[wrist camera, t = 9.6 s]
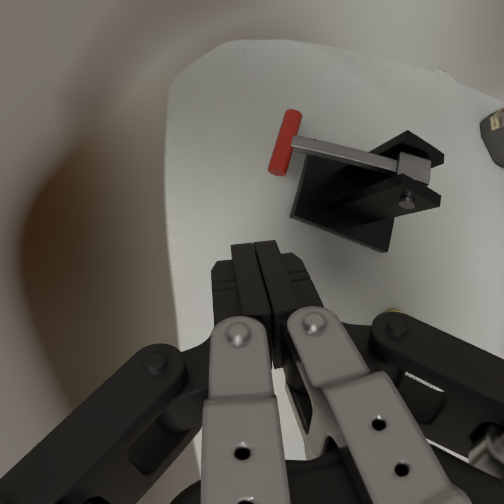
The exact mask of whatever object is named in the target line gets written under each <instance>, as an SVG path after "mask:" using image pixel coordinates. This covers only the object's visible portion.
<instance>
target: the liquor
mask: <svg viewBox="0 0 504 504" xmlns="http://www.w3.org/2000/svg"><path fill="white" fill-rule="evenodd" d="M480 130H481V137H482V139H483V141H484V143H485V145H486V147H487V149H488V151H489V153H490V155H491V157H492V160H493V161H494V162H495V163H496V164H498V165H499V166H500V167H503V168H504V108H503V109H501V110H498V111H496V112H494V113H492V114H490V115H489V116H488V117H487V118H486V119H484V120H483V121H482V122H481V124H480Z"/></svg>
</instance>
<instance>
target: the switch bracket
mask: <svg viewBox="0 0 504 504" xmlns="http://www.w3.org/2000/svg"><path fill="white" fill-rule="evenodd" d="M314 140H316V139H314ZM400 152H404V153H408V154H411V155H414V156H417V157H421V158H424V159H427V160H430V161H431V168H433V167H436V166H438V165H441V164H443V163H444V154H443V153H442V152H440V151H439V150H438V149H436V148H435V147H433V146H432V145H430V144H429V143H427V142H426V141H424V140H423V139H421V138H419V137H418V136H416V135H415V134H413V133H412V132H410V131H408V130H407V131H405V132H403V133H402V134H400V135H398V136H396V137H394V138H393V139H391V140H389V141H387V142H386V143H384V144H382V145H380V146H379V147H377V148H375V149H373V150H372V151H370V152H369V153H372V154H376V155H380V156H383V157H387V158H390V159H394V160H397V158H398V156H399V154H400ZM440 201H441V195H439V194H438V193H436V192H434V191H433V190H431V189H429V188H428V187H426V186H424V185H423V184H421V183H419V182H418V181H416V180H414V179H413V178H411V177H409V176H407V175H406V174H404V173H401V174H399V175H396V176H394V177H393V176H391V175H388V174H384V173H381V172H377V171H373V170H370V169H366V168H362V167H358V166H355V165H351V164H347V163H343V162H339V161H334V160H330V159H326V158H322V157H317V156H313V155H308V154H307V156H306V159H305V163H304V167H303V170H302V174H301V178H300V182H299V185H298V189H297V193H296V196H295V200H294V203H293V207H292V211H291V214H290V218H293V219H296V220H299V221H301V222H304V223H307V224H309V225H312V226H315V227H317V228H320V229H322V230H325V231H328V232H330V233H333V234H335V235H338V236H341V237H343V238H346V239H348V240H351V241H353V242H356V243H358V244H361V245H364V246H366V247H369V248H371V249H373V250H376V251H378V252H381V253H385V252H388V248H389V244H390V239H391V234H392V228H393V223H394V218H395V217H398V216H402V215H406V214H410V213H415V212H419V211H423V210H427V209H432V208H436V207H440Z"/></svg>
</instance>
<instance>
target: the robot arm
mask: <svg viewBox="0 0 504 504" xmlns="http://www.w3.org/2000/svg"><path fill="white" fill-rule="evenodd" d="M231 255H232V260H224V261H217V262H216V264H215V265H214V267H213V268H212V270H211V280H212V297H213V313H214V329H213V330H212V333H211V335H210V337H209V338H208V339H207V340H206V341H205V342H203V343H202V344H200V345H199V346H196V347H194V348H192V349H189V350H186V351H183V352H180V351H179V350H178V349H177V348H176V347H174V346H171V345H168V344H153V345H149V346H146V347H144V348H143V349H141V350H139V351H138V352H137V353H136V354H135V355H134V356H132V357H131V358H130V359H129V360H128V361H127V362H126V363H125V364H124V365H123V366H122V367H121V368H119V369H118V370H117V371H116V372H115V373H114V374H113V375H112V376H111V377H110V378H109V379H107V380H106V381H105V382H104V383H103V384H102V385H101V386H100V387H99V388H98V389H97V390H96V391H95V392H93V393H92V394H91V395H90V396H89V397H88V398H87V399H86V400H85V401H84V402H83V403H82V404H81V405H79V406H78V407H77V408H76V409H75V410H74V411H73V412H72V413H71V414H70V415H69V416H68V417H67V418H66V419H64V420H63V421H62V422H61V423H60V424H59V425H58V426H57V427H56V428H55V429H54V430H53V431H51V432H50V433H49V434H48V435H47V436H46V437H45V438H44V439H43V440H42V441H41V442H40V443H38V444H37V445H36V446H35V447H34V448H33V449H32V450H31V451H30V452H29V453H28V454H27V455H26V456H25V457H23V458H22V459H21V460H20V461H19V462H18V463H17V464H16V465H15V466H14V467H13V468H12V469H11V470H10V471H8V472H7V473H6V474H5V475H4V476H3V477H2V478H1V479H0V504H136V503H137V502H138V501H139V500H140V499H141V497H142V496H143V495H144V494H145V493H146V492H147V491H148V490H149V489H150V488H151V486H152V485H153V484H154V483H155V482H156V481H157V480H158V479H159V478H160V476H161V475H162V474H163V473H164V472H165V470H167V468H168V467H169V466H170V465H171V464H172V463H173V461H174V460H175V459H176V458H177V457H178V456H179V455H180V453H181V452H182V451H183V450H184V449H185V448H186V446H187V445H188V444H189V443H190V442H191V440H192V439H193V438H194V437H195V436H196V434H197V433H198V432H199V431H200V429H201V427H202V455H201V480H199V481H197V482H196V483H194V484H192V485H190V486H189V487H187V488H186V489H185V490H183V491H182V492H181V493H180V494H179V495H178V496H177V497H175V499H174V500H173V501H172V502H171V503H170V504H504V359H502V358H500V357H497V356H495V355H493V354H491V353H489V352H487V351H484V350H482V349H480V348H478V347H476V346H474V345H472V344H469V343H467V342H465V341H463V340H461V339H459V338H456V337H454V336H452V335H450V334H448V333H446V332H443V331H441V330H439V329H437V328H435V327H433V326H430V325H428V324H426V323H424V322H422V321H420V320H417V319H415V318H413V317H411V316H409V315H406V314H404V313H400V312H385V313H382V314H380V315H378V316H377V317H376V318H375V319H374V320H373V323H372V326H370V325H353V324H347V323H343V322H341V321H340V319H339V318H338V317H337V315H336V314H335V313H333V312H332V311H330V310H328V309H326V308H324V306H323V303H322V301H321V299H320V297H319V295H318V293H317V291H316V289H315V286H314V284H313V282H312V280H310V276H309V274H308V272H307V270H306V268H305V265H304V263H303V261H302V260H301V259H300V258H298V257H297V256H296V255H294V254H293V253H284V254H281V253H280V251H279V248H278V246H277V243H276V241H275V240H270V241H261V242H254V243H253V244H252V243H244V244H235V245H231ZM272 361H273V366H274V369H277V368H283V369H284V373H285V389H286V392H287V395H288V398H289V401H290V404H291V406H292V409H293V412H294V415H295V418H296V420H297V423H298V426H299V429H300V431H301V434H302V437H303V441H304V445H305V454H306V459H307V460H306V461H304V460H285V456H284V448H283V441H282V433H281V425H280V418H279V410H278V403H277V398H276V395H275V394H274V388H273V380H272V373H271V369H272ZM406 372H408V373H410V374H412V375H414V376H416V377H418V378H420V379H422V380H424V381H426V382H428V383H430V384H432V385H434V386H436V387H438V388H440V389H442V390H444V392H440V391H437V390H435V389H432V388H430V387H428V386H426V385H424V384H422V383H420V382H418V381H416V380H415V379H413V378H411V377H409V376H407V375H405V373H406ZM426 438H427V439H429V440H431V441H433V442H435V443H437V444H439V445H441V446H443V447H445V448H447V449H449V450H451V451H453V452H455V453H458V454H460V455H462V456H464V457H466V458H468V460H469V463H467V462H465V461H463V460H461V459H459V458H457V457H455V456H453V455H451V454H449V453H447V452H446V451H444V450H442V449H440V448H438V447H436V446H434V445H432V444H429V443H428V441H427V440H426Z"/></svg>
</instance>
